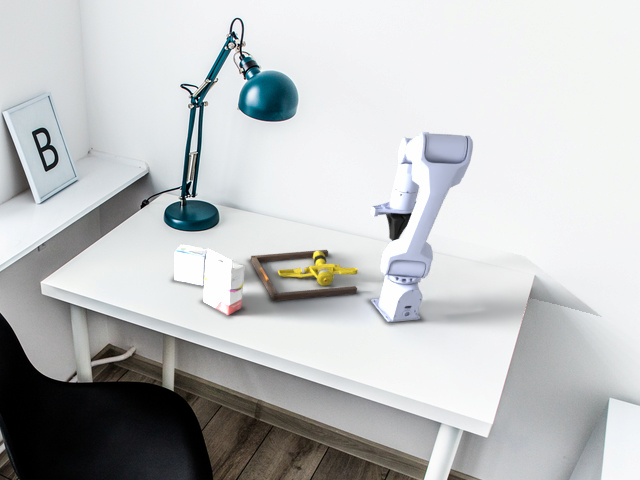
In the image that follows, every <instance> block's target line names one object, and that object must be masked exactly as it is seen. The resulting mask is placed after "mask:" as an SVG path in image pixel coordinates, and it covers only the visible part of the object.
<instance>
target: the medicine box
mask: <svg viewBox="0 0 640 480" xmlns="http://www.w3.org/2000/svg"><path fill="white" fill-rule="evenodd" d="M208 249H209V248H204V247H199V246H193V245H187V244H183V243H181V244H180V245H179V246H178V247H177V249H176V250H175V251H174V281H176V282H177V281H178V282H183V283H187V284H193V285H197V286H202V287H204V283H205V264H206V258H207V250H208Z"/></svg>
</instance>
